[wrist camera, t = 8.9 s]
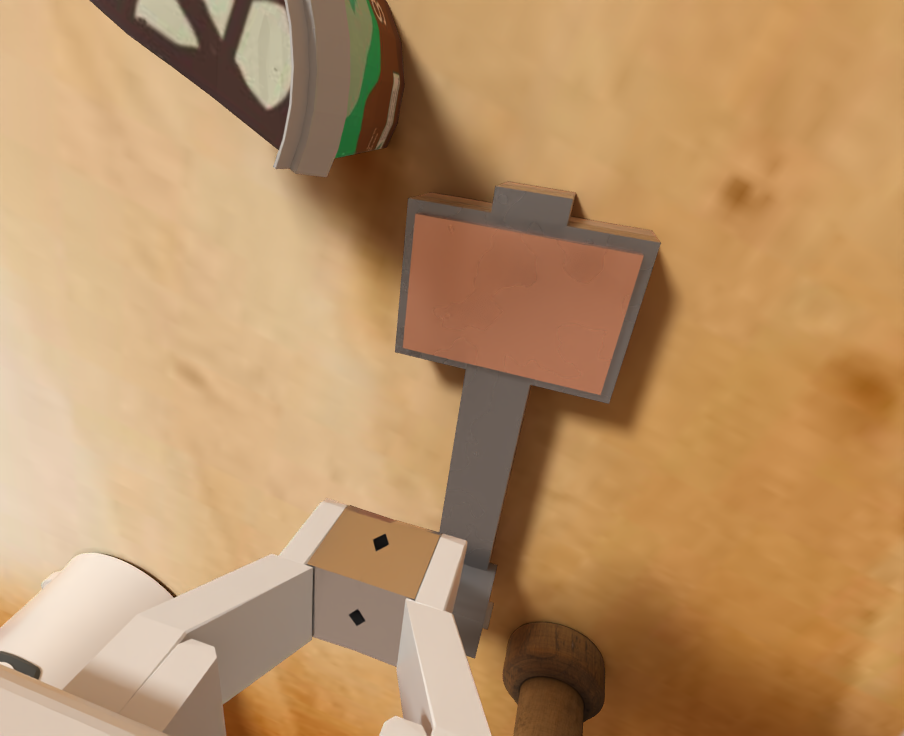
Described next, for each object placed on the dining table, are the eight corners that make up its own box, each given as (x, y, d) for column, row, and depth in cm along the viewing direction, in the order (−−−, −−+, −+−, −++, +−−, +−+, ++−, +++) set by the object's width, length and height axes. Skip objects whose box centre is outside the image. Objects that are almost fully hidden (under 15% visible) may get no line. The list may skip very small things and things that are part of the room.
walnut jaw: (535, 604, 31) (524, 688, 26) (392, 558, 33) (357, 628, 28) (660, 206, 20) (680, 225, 15) (433, 169, 22) (386, 174, 17)
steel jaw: (550, 570, 28) (547, 597, 26) (388, 519, 29) (376, 542, 28) (664, 210, 19) (671, 216, 17) (422, 170, 20) (407, 172, 19)
